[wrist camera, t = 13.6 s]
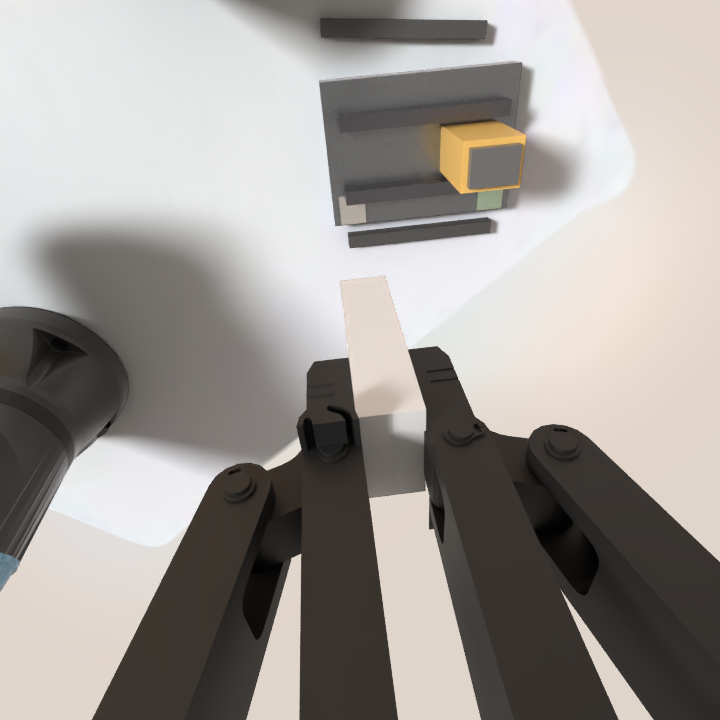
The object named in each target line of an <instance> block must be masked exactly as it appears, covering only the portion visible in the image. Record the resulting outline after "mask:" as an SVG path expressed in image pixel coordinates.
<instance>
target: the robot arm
mask: <svg viewBox="0 0 720 720" xmlns="http://www.w3.org/2000/svg"><path fill="white" fill-rule="evenodd" d="M340 288H341V296H342V305H343V314H344V323H345V331H346V340H347V349H348V357H349V358H342V359H333V360H325V361H316V362H314V363H313V364H312V366H311V368H310V369H309V371H308V373H307V410H306V411H305V412H304V413H303V414H302V415H301V416H300V417H299V420H298V423H297V431H298V435H299V440H300V444H301V449H302V450H301V451H300V452H299V454H298V455H297V456H296V457H294V458H293V459H292V460H290V461H289V462H287V463H285V464H283V465H281V466H278V467H276V468H273V469H270V470H268V471H267V470H265V469H264V468H263V467H262V466H260V465H256V464H252V463H243V464H237V465H234V466H232V467H229V468H226V469H225V470H224V471H222V472H221V473H220V474H218V475H217V476H216V477H215V478H214V480H213V481H212V482H211V484H210V485H209V487H208V489H207V491H206V493H205V495H204V497H203V499H202V501H201V503H200V505H199V507H198V509H197V511H196V513H195V515H194V517H193V519H192V521H191V523H190V525H189V527H188V529H187V531H186V533H185V535H184V537H183V539H182V541H181V543H180V545H179V547H178V549H177V551H176V553H175V555H174V557H173V559H172V561H171V563H170V565H169V567H168V569H167V571H166V573H165V575H164V577H163V579H162V581H161V583H160V585H159V587H158V589H157V591H156V593H155V595H154V597H153V599H152V601H151V603H150V605H149V607H148V609H147V611H146V613H145V615H144V617H143V619H142V621H141V623H140V625H139V627H138V629H137V631H136V633H135V635H134V637H133V639H132V641H131V643H130V645H129V647H128V649H127V651H126V653H125V655H124V657H123V659H122V661H121V663H120V665H119V667H118V669H117V671H116V673H115V675H114V677H113V679H112V681H111V683H110V685H109V687H108V689H107V691H106V693H105V695H104V697H103V699H102V701H101V703H100V705H99V707H98V709H97V711H96V713H95V715H94V717H93V719H92V720H246V718H247V715H248V711H249V707H250V704H251V701H252V697H253V694H254V690H255V686H256V683H257V679H258V676H259V672H260V669H261V665H262V661H263V658H264V655H265V651H266V647H267V644H268V640H269V637H270V633H271V630H272V626H273V623H274V619H275V615H276V612H277V608H278V605H279V601H280V598H281V594H282V590H283V587H284V583H285V580H286V577H287V573H288V569H289V566H290V562H291V558H292V557H295V556H297V555H299V554H301V633H300V634H301V635H300V637H301V638H300V639H301V640H300V720H398V716H397V708H396V701H395V693H394V686H393V678H392V670H391V663H390V656H389V648H388V640H387V633H386V625H385V618H384V610H383V602H382V594H381V587H380V580H379V571H378V564H377V557H376V548H375V542H374V533H373V526H372V518H371V511H370V503H369V498H373V497H381V496H389V495H397V494H404V493H413V492H420V491H425V480H426V484H427V488H428V491H429V495H430V497H429V529H434V530H435V535H436V538H437V542H438V546H439V550H440V555H441V558H442V563H443V567H444V571H445V575H446V579H447V583H448V587H449V591H450V595H451V599H452V603H453V607H454V611H455V615H456V620H457V624H458V627H459V632H460V636H461V640H462V644H463V648H464V652H465V656H466V660H467V664H468V668H469V672H470V676H471V680H472V684H473V689H474V692H475V697H476V700H477V705H478V709H479V713H480V717H481V720H618V718H617V715H616V713H615V711H614V709H613V706H612V704H611V702H610V700H609V697H608V695H607V693H606V691H605V688H604V686H603V684H602V682H601V679H600V677H599V675H598V673H597V671H596V668H595V666H594V664H593V661H592V659H591V657H590V655H589V652H588V650H587V648H586V646H585V643H584V641H583V639H582V637H581V634H580V632H579V630H578V628H577V625H576V623H575V621H574V619H573V616H572V614H571V612H570V610H569V607H568V606H567V603H566V601H565V599H564V596H563V594H562V592H563V593H564V595H565V596H566V597H567V599H568V600H569V602H570V603H571V604H572V606H573V607H574V609H575V610H576V611H577V613H578V614H579V616H580V617H581V618H582V620H583V621H584V623H585V624H586V625H587V627H588V628H589V630H590V631H591V632H592V634H593V635H594V637H595V638H596V639H597V641H598V642H599V644H600V645H601V646H602V648H603V649H604V651H605V652H606V653H607V655H608V656H609V658H610V659H611V661H612V662H613V663H614V665H615V666H616V668H617V669H618V670H619V672H620V673H621V675H622V676H623V677H624V679H625V680H626V681H627V683H628V684H629V686H630V687H631V689H632V690H633V691H634V693H635V694H636V696H637V697H638V698H639V700H640V701H641V702H642V704H643V705H644V707H645V708H646V710H647V711H648V712H649V714H650V715H651V717H652V718H653V719H654V720H720V562H719V561H718V560H717V559H716V558H715V557H714V556H713V555H712V554H711V553H710V552H708V551H707V550H706V549H705V548H704V547H703V546H702V545H701V544H700V543H699V542H698V541H697V540H696V539H694V537H693V536H692V535H690V534H689V533H688V532H687V531H686V530H685V529H684V528H683V527H682V526H681V525H680V524H679V523H678V522H677V521H676V520H675V519H674V518H673V517H672V516H670V515H669V514H668V513H667V512H666V511H665V510H664V509H663V508H662V507H661V506H660V505H659V504H658V503H657V502H656V501H655V500H654V499H653V498H651V497H650V496H649V495H648V494H647V493H646V492H645V491H644V490H643V489H642V488H641V487H640V486H639V485H638V484H637V483H636V482H634V481H633V480H632V479H631V478H630V477H629V476H628V475H627V474H626V473H625V472H624V471H623V470H622V469H621V468H620V467H619V466H618V465H617V464H616V463H614V461H612V460H611V459H610V458H609V457H608V456H607V455H606V454H605V453H604V452H603V451H602V450H601V449H600V448H599V447H598V446H597V445H596V444H595V443H593V442H592V441H591V440H590V439H589V438H588V437H587V436H585V435H584V434H583V433H581V432H579V431H578V430H576V429H573V428H571V427H568V426H563V425H556V424H552V425H545V426H541V427H539V428H538V429H536V430H534V431H533V433H532V434H531V436H530V437H529V439H527V438H520V437H512V436H506V435H500V434H498V433H495V432H492V431H490V430H489V429H488V428H487V426H486V425H485V424H484V423H483V422H482V421H480V420H479V419H477V418H476V417H475V416H474V414H473V412H472V409H471V407H470V405H469V403H468V400H467V398H466V396H465V393H464V391H463V388H462V386H461V384H460V381H459V380H458V377H457V374H456V372H455V370H454V367H453V365H452V363H451V360H450V358H449V356H448V355H447V354H446V353H445V352H443V351H442V350H441V349H440V348H439V347H437V346H436V347H426V348H418V349H409V350H408V349H407V346H406V342H405V339H404V336H403V333H402V329H401V326H400V323H399V320H398V316H397V313H396V310H395V307H394V303H393V300H392V297H391V294H390V290H389V287H388V284H387V281H386V277H385V276H379V277H370V278H361V279H352V280H343V281H340ZM128 389H129V388H128V379H127V375H126V372H125V369H124V367H123V365H122V363H121V361H120V360H119V358H118V357H117V355H116V354H115V353H114V351H113V350H112V349H111V348H110V347H109V346H108V345H107V344H106V343H105V342H104V341H103V340H102V339H101V338H100V337H98V336H97V335H96V334H94V333H93V332H92V331H90V330H89V329H87V328H86V327H84V326H82V325H80V324H79V323H77V322H75V321H73V320H70V319H68V318H66V317H63V316H61V315H58V314H55V313H52V312H48V311H44V310H40V309H34V308H27V307H3V308H0V592H1V590H2V589H3V587H4V585H5V584H6V582H7V581H8V579H9V577H10V576H11V575H12V574H14V573H15V572H16V571H17V568H18V566H19V563H20V561H21V559H22V557H23V555H24V553H25V551H26V549H27V547H28V546H29V544H30V541H31V540H32V538H33V536H34V534H35V532H36V530H37V528H38V526H39V524H40V523H41V520H42V519H43V517H44V515H45V513H46V511H47V509H48V507H49V505H50V503H51V501H52V499H53V498H54V496H55V494H56V492H57V490H58V488H59V486H60V484H61V482H62V480H63V478H64V476H65V474H66V472H67V470H68V469H69V467H70V465H71V463H72V462H73V460H74V459H75V458H76V457H78V456H79V455H80V454H81V453H82V452H83V451H85V450H86V449H87V448H88V447H89V446H90V445H92V444H93V443H94V442H95V441H96V440H97V439H98V438H99V437H101V436H102V435H103V434H105V433H106V432H107V431H108V430H109V429H110V428H111V427H112V426H113V425H114V423H115V422H116V420H117V419H118V417H119V415H120V413H121V411H122V409H123V407H124V405H125V403H126V400H127V397H128ZM560 589H561V590H562V592H561V590H560Z"/></svg>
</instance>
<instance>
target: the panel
mask: <svg viewBox="0 0 720 720" xmlns="http://www.w3.org/2000/svg"><path fill="white" fill-rule="evenodd" d="M521 67H522V62H517V61H510V62H499V63H489V64H479V65H469V66H459V67H449V68H439V69H429V70H419V71H409V72H399V73H389V74H379V75H369V76H359V77H349V78H339V79H329V80H319V85H320V94H321V103H322V112H323V121H324V130H325V138H326V147H327V156H328V165H329V174H330V183H331V192H332V201H333V210H334V219H335V226H341V225H351V224H360V223H369V222H378V221H388V220H397V219H406V218H415V217H424V216H434V215H443V214H452V213H461V212H471V211H480V210H489V209H498V208H506V205H507V196H508V189H501V190H492V191H482V192H473V193H464V194H460V193H459V192H458V190H457V189H456V188H455V187H454V186H453V185H452V184H451V183H450V182H449V181H448V180H447V178H446V177H445V176H444V175H443V174H442V173H441V172H440V142H441V125H447V124H457V123H467V122H476V121H486V120H497V121H499V122H501V123H503V124H505V125H507V126H509V127H511V128H513V129H515V122H516V113H517V104H518V95H519V86H520V77H521Z"/></svg>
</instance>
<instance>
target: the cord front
mask: <svg viewBox="0 0 720 720" xmlns="http://www.w3.org/2000/svg"><path fill="white" fill-rule="evenodd" d="M486 27H487V20H412V19H336V18H321V37H346V38H448V39H485V34H486Z"/></svg>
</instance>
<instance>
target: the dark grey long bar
mask: <svg viewBox="0 0 720 720" xmlns="http://www.w3.org/2000/svg"><path fill="white" fill-rule="evenodd" d="M490 225H491V221H490V220H489V219H488V218H487V217H486V218H477V219H468V220H458V221H449V222H440V223H431V224H422V225H412V226H403V227H394V228H385V229H376V230H366V231H357V232H348V239H349V247H350V248H356V247H366V246H375V245H384V244H393V243H402V242H411V241H420V240H429V239H438V238H448V237H457V236H466V235H475V234H484V233H490Z"/></svg>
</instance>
